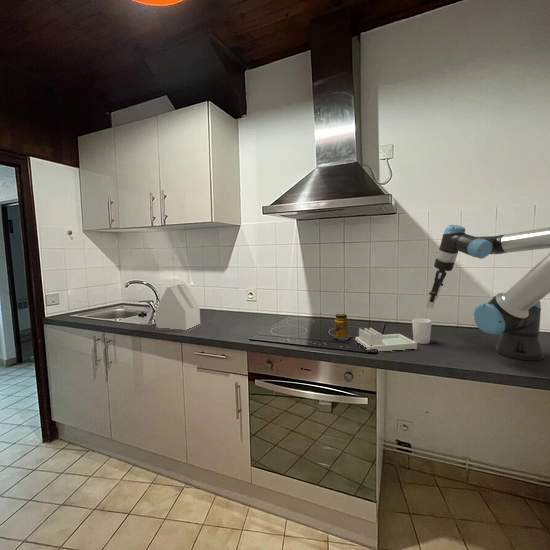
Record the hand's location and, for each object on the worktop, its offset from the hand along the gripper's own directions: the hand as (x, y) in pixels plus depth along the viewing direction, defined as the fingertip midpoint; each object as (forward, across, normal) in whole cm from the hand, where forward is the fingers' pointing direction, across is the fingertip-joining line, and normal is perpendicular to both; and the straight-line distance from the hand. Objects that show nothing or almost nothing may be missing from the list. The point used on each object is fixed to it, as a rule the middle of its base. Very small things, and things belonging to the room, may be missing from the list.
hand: (431, 302), depth 145 cm
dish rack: (+16, +25, -12) cm, 32 cm away
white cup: (+16, +10, +1) cm, 19 cm away
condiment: (+22, +23, -31) cm, 45 cm away
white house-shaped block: (+41, +49, -120) cm, 136 cm away
